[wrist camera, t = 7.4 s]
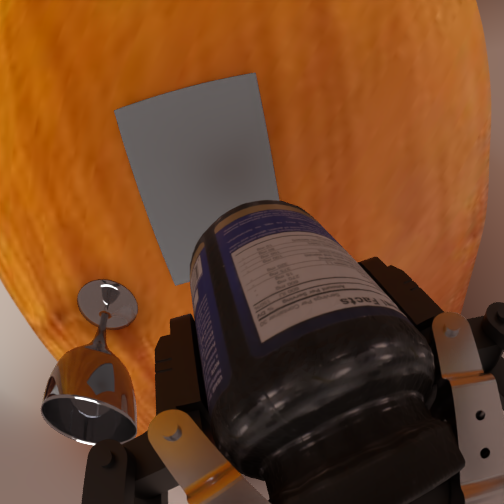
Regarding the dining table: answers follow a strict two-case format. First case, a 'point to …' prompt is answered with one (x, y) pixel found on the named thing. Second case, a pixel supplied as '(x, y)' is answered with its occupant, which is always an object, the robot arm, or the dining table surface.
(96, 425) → the wine glass
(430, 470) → the pill bottle
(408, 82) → the dining table surface
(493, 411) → the robot arm
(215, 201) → the place mat
